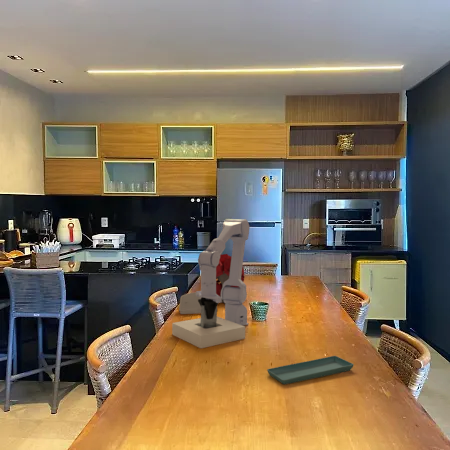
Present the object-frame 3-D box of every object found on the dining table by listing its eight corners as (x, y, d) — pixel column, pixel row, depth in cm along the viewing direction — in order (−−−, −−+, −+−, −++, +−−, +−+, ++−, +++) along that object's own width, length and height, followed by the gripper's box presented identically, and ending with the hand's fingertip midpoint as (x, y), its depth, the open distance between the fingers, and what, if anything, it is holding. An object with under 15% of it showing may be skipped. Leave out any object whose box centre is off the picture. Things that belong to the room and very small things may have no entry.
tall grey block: (219, 332, 172) (220, 305, 172) (205, 333, 168) (207, 307, 168) (210, 328, 177) (211, 302, 176) (197, 330, 173) (198, 304, 173)
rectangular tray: (283, 387, 127) (283, 378, 127) (266, 376, 135) (266, 367, 135) (354, 372, 139) (354, 364, 139) (334, 362, 147) (335, 355, 147)
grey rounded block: (179, 314, 206) (179, 292, 209) (178, 315, 211) (178, 293, 213) (215, 312, 209) (214, 291, 212) (214, 313, 214) (213, 292, 216)
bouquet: (248, 313, 234) (243, 276, 259) (247, 278, 221) (242, 243, 247) (206, 316, 234) (205, 279, 259) (203, 281, 221) (202, 245, 246)
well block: (245, 338, 170) (245, 326, 170) (200, 348, 159) (200, 335, 158) (214, 326, 187) (214, 315, 186) (172, 334, 175) (172, 323, 174)
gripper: (189, 280, 175) (189, 315, 176) (210, 286, 163) (210, 324, 164) (204, 279, 179) (204, 313, 180) (226, 284, 167) (226, 321, 168)
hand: (208, 318), depth 172 cm, fingers closed on tall grey block, 2 cm apart
